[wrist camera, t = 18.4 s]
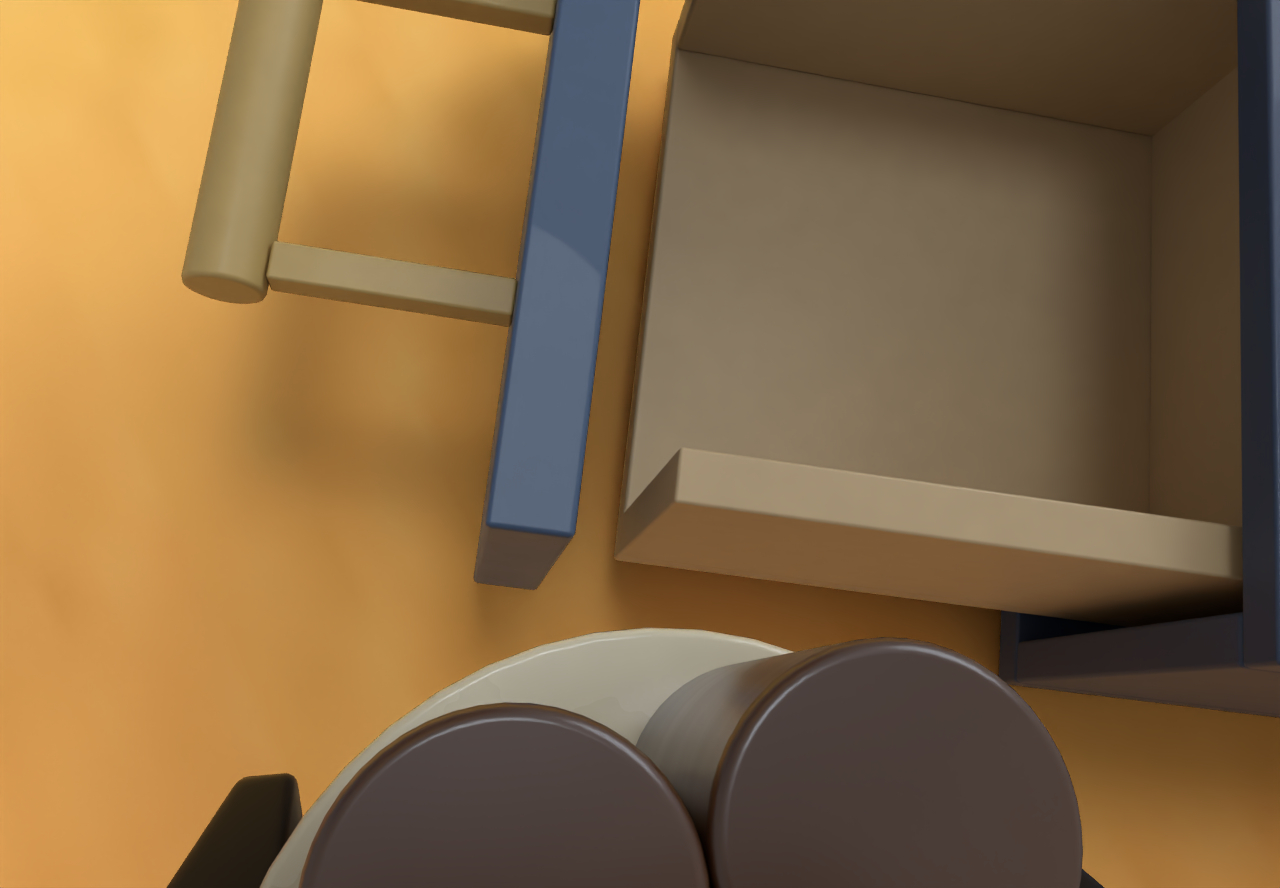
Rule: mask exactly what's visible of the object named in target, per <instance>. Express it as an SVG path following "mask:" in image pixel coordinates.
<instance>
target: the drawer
mask: <svg viewBox="0 0 1280 888" xmlns="http://www.w3.org/2000/svg"><path fill="white" fill-rule="evenodd" d="M357 1H363V2H368V3H374V4H379V5H384V6H390V7H395V8H401V9H406V10H412V11H417V12H423V13H428V14H433V15H439V16H444V17H450V18H455V19H461V20H466V21H472V22H477V23H482V24H488V25H493V26H499V27H504V28H510V29H515V30H521V31H526V32H532V33H537V34H542V35H550V38H549V45H548V53H547V60H546V67H545V74H544V81H543V88H542V95H541V102H540V109H539V117H538V124H537V131H536V138H535V145H534V152H533V159H532V166H531V173H530V181H529V188H528V195H527V202H526V209H525V216H524V223H523V230H522V237H521V244H520V252H519V259H518V266H517V273H516V279H515V278H508V277H502V276H496V275H489V274H483V273H477V272H470V271H464V270H458V269H451V268H445V267H439V266H432V265H426V264H420V263H413V262H407V261H401V260H394V259H388V258H381V257H375V256H369V255H362V254H356V253H350V252H343V251H337V250H331V249H324V248H318V247H312V246H305V245H299V244H293V243H286V242H280V241H277V238H278V233H279V228H280V222H281V217H282V212H283V207H284V202H285V196H286V191H287V186H288V181H289V175H290V170H291V165H292V160H293V155H294V149H295V144H296V139H297V134H298V129H299V123H300V118H301V113H302V108H303V103H304V97H305V92H306V87H307V82H308V76H309V71H310V66H311V61H312V56H313V50H314V45H315V40H316V35H317V30H318V24H319V19H320V14H321V9H322V3H323V0H239V4H238V9H237V14H236V18H235V23H234V28H233V33H232V37H231V42H230V47H229V52H228V56H227V61H226V66H225V71H224V75H223V80H222V85H221V90H220V94H219V99H218V104H217V109H216V113H215V118H214V123H213V128H212V132H211V137H210V142H209V147H208V151H207V156H206V161H205V166H204V170H203V175H202V180H201V185H200V190H199V194H198V199H197V204H196V209H195V213H194V218H193V223H192V228H191V232H190V237H189V242H188V247H187V251H186V256H185V261H184V266H183V270H182V275H181V276H182V281H183V283H184V285H185V286H186V287H188V288H189V289H191V290H192V291H194V292H196V293H198V294H201V295H203V296H206V297H209V298H212V299H215V300H219V301H224V302H229V303H239V304H249V303H257V302H260V301H262V300H263V299H264V298H265V296H266V295H267V290H268V285H270V287H271V289H272V290H273V291H278V292H285V293H291V294H298V295H304V296H311V297H317V298H324V299H331V300H337V301H344V302H350V303H357V304H363V305H370V306H376V307H383V308H390V309H396V310H403V311H409V312H416V313H422V314H429V315H435V316H442V317H449V318H455V319H462V320H468V321H475V322H481V323H488V324H494V325H501V326H509V330H508V337H507V344H506V351H505V358H504V365H503V372H502V380H501V387H500V394H499V401H498V408H497V415H496V422H495V429H494V436H493V443H492V451H491V458H490V465H489V472H488V479H487V486H486V493H485V500H484V507H483V515H482V522H481V529H480V536H479V543H478V550H477V557H476V564H475V571H474V581H475V582H477V583H482V584H490V585H498V586H506V587H514V588H522V589H530V590H535V589H537V588H538V586H539V585H540V583H541V582H542V581H543V579H544V578H545V576H546V575H547V573H548V572H549V571H550V569H551V568H552V566H553V565H554V563H555V562H556V561H557V559H558V558H559V556H560V555H561V553H562V552H563V551H564V549H565V548H566V546H567V545H568V543H569V542H570V541H571V539H572V538H573V536H574V534H575V530H576V522H577V514H578V506H579V498H580V489H581V481H582V473H583V465H584V457H585V448H586V440H587V432H588V424H589V416H590V407H591V399H592V391H593V383H594V375H595V366H596V358H597V350H598V342H599V334H600V325H601V317H602V309H603V301H604V293H605V284H606V276H607V268H608V260H609V252H610V243H611V235H612V227H613V219H614V210H615V202H616V194H617V186H618V178H619V169H620V161H621V153H622V145H623V137H624V128H625V120H626V112H627V104H628V96H629V87H630V79H631V71H632V63H633V55H634V46H635V38H636V30H637V22H638V14H639V5H640V0H357ZM614 558H615V559H616V560H618V561H625V562H632V563H640V564H648V565H656V566H663V567H671V568H679V569H686V570H694V571H702V572H709V573H717V574H725V575H733V576H740V577H748V578H756V579H763V580H771V581H779V582H787V583H794V584H802V585H810V586H817V587H825V588H833V589H841V590H848V591H856V592H864V593H871V594H879V595H887V596H895V597H902V598H910V599H918V600H925V601H933V602H941V603H948V604H956V605H964V606H972V607H979V608H987V609H995V610H1002V611H1010V612H1018V613H1026V614H1033V615H1041V616H1049V617H1056V618H1064V619H1072V620H1080V621H1087V622H1095V623H1103V624H1110V625H1118V626H1126V627H1135V626H1142V625H1150V624H1157V623H1164V622H1172V621H1179V620H1187V619H1194V618H1202V617H1209V616H1216V615H1224V614H1231V613H1239V612H1243V557H1242V454H1241V352H1240V249H1239V146H1238V44H1237V0H685V3H684V6H683V9H682V12H681V15H680V19H679V21H678V24H677V27H676V30H675V33H674V36H673V40H672V49H671V57H670V66H669V75H668V84H667V92H666V101H665V110H664V119H663V128H662V136H661V145H660V154H659V163H658V172H657V180H656V189H655V198H654V207H653V216H652V224H651V233H650V242H649V251H648V260H647V268H646V277H645V286H644V295H643V303H642V312H641V321H640V330H639V339H638V347H637V356H636V365H635V374H634V383H633V391H632V400H631V409H630V418H629V427H628V435H627V444H626V453H625V462H624V470H623V479H622V488H621V497H620V506H619V514H618V523H617V532H616V541H615V550H614Z"/></svg>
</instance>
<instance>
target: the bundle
mask: <svg viewBox="0 0 1280 888" xmlns="http://www.w3.org/2000/svg"><path fill="white" fill-rule="evenodd" d="M1082 856H1083V847H1082V828H1081V821H1080V815H1079V809H1078V803H1077V799H1076V795H1075V792H1074V788H1073V785H1072V782H1071V778H1070V775H1069V773H1068V770H1067V768H1066V766H1065V763H1064V761H1063V759H1062V756H1061V754H1060V752H1059V750H1058V748H1057V746H1056V745H1055V743H1054V741H1053V739H1052V738H1051V736H1050V734H1049V732H1048V731H1047V729H1046V728H1045V726H1044V725H1043V724H1042V722H1041V721H1040V720H1039V718H1038V717H1037V715H1036V714H1035V713H1034V711H1033V710H1032V709H1031V707H1030V706H1029V705H1028V704H1027V703H1026V702H1025V701H1024V700H1023V699H1022V698H1021V697H1020V696H1019V695H1018V693H1017V692H1016V691H1015V690H1014V689H1013V688H1012V687H1010V686H1009V685H1008V684H1007V683H1006V682H1004V681H1003V680H1002V679H1001V678H1000V677H998V676H997V675H996V674H995V673H993V672H992V671H990V670H989V669H987V668H985V667H984V666H982V665H981V664H979V663H978V662H976V661H975V660H973V659H971V658H969V657H966V656H964V655H962V654H960V653H958V652H956V651H954V650H952V649H948V648H945V647H942V646H939V645H936V644H933V643H930V642H924V641H919V640H913V639H907V638H888V637H879V638H869V639H860V640H854V641H849V642H844V643H838V644H833V645H828V646H823V647H818V648H813V649H808V650H803V651H798V652H794V651H790V650H787V649H784V648H781V647H778V646H775V645H771V644H768V643H765V642H762V641H759V640H755V639H752V638H746V637H740V636H734V635H729V634H723V633H717V632H711V631H706V630H696V629H669V628H639V629H629V630H618V631H608V632H598V633H591V634H587V635H583V636H578V637H574V638H570V639H565V640H561V641H557V642H553V643H548V644H544V645H540V646H537V647H535V648H532V649H529V650H527V651H524V652H521V653H519V654H516V655H513V656H511V657H508V658H506V659H503V660H500V661H498V662H495V663H492V664H490V665H487V666H485V667H483V668H482V669H480V670H478V671H476V672H474V673H472V674H470V675H468V676H467V677H465V678H463V679H461V680H459V681H457V682H455V683H453V684H452V685H450V686H448V687H446V688H444V689H442V690H440V691H439V692H437V693H435V694H434V695H433V696H431V697H430V698H428V699H427V700H426V701H424V702H423V703H421V704H420V705H418V706H417V707H416V708H414V709H413V710H411V711H410V712H409V713H407V714H406V715H404V716H403V717H402V718H400V719H399V720H397V721H396V722H395V723H393V724H392V725H390V726H389V727H388V728H387V729H386V730H385V731H384V732H382V733H381V734H380V735H379V736H378V737H377V738H376V739H375V740H374V741H373V742H372V743H370V744H369V745H368V746H367V747H366V748H365V749H364V750H363V751H362V752H361V753H360V754H359V755H357V756H356V757H355V758H354V759H353V760H352V761H351V762H350V763H349V764H348V765H347V766H345V767H344V769H343V770H342V771H341V772H340V773H339V774H338V776H337V777H336V778H335V779H334V780H333V782H332V783H331V784H330V785H329V786H328V787H327V789H326V790H325V791H324V792H323V793H322V794H321V796H320V797H319V798H318V799H317V800H316V802H315V803H314V804H313V805H312V806H311V807H310V809H309V810H308V811H307V812H306V813H305V815H304V816H303V817H302V819H301V821H300V822H299V824H298V825H297V827H296V828H295V830H294V831H293V833H292V834H291V836H290V837H289V839H288V840H287V842H286V843H285V845H284V846H283V848H282V849H281V851H280V852H279V854H278V855H277V857H276V859H275V860H274V862H273V863H272V865H271V866H270V868H269V870H268V872H267V874H266V876H265V878H264V880H263V882H262V884H261V886H260V888H1079V886H1080V881H1081V872H1082Z"/></svg>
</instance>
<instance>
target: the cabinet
mask: <svg viewBox="0 0 1280 888" xmlns="http://www.w3.org/2000/svg"><path fill="white" fill-rule="evenodd" d="M1237 44H1238V146H1239V249H1240V352H1241V454H1242V557H1243V612H1239V613H1231V614H1224V615H1216V616H1209V617H1202V618H1194V619H1187V620H1179V621H1172V622H1164V623H1157V624H1150V625H1142V626H1135V627H1126V626H1118V625H1110V624H1103V623H1095V622H1087V621H1080V620H1072V619H1064V618H1056V617H1049V616H1041V615H1033V614H1026V613H1018V612H1010V611H1002V610H1001V632H1000V659H999V677H1000V678H1001V679H1002V680H1003V681H1004V682H1006V683H1007V684H1008V685H1015V686H1023V687H1032V688H1040V689H1048V690H1056V691H1064V692H1073V693H1081V694H1089V695H1097V696H1106V697H1114V698H1122V699H1130V700H1138V701H1147V702H1155V703H1163V704H1171V705H1179V706H1188V707H1196V708H1204V709H1212V710H1221V711H1229V712H1237V713H1245V714H1253V715H1262V716H1270V717H1278V718H1280V0H1237Z"/></svg>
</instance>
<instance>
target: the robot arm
mask: <svg viewBox="0 0 1280 888" xmlns="http://www.w3.org/2000/svg"><path fill="white" fill-rule="evenodd" d="M301 819H302V810H301V803H300V796H299V789H298V783H297V780H296V779H295V777H294V776H292V775H290V774H287V773H283V774H272V775H261V776H250V777H245V778H243V779H241V780H240V781H238V782H237V783H236V784H235V786H234V787H233V788H232V790H231V791H230V793H229V794H228V796H227V797H226V799H225V800H224V802H223V803H222V805H221V806H220V808H219V809H218V811H217V812H216V814H215V815H214V817H213V818H212V820H211V821H210V823H209V824H208V826H207V827H206V829H205V830H204V832H203V833H202V835H201V836H200V838H199V839H198V841H197V842H196V844H195V845H194V847H193V848H192V850H191V852H190V853H189V855H188V856H187V858H186V859H185V861H184V862H183V864H182V865H181V867H180V868H179V870H178V871H177V873H176V874H175V876H174V877H173V879H172V880H171V882H170V883H169V885H168V886H167V888H260V886H261V884H262V882H263V880H264V878H265V876H266V874H267V872H268V870H269V868H270V866H271V865H272V863H273V862H274V860H275V859H276V857H277V855H278V854H279V852H280V851H281V849H282V848H283V846H284V845H285V843H286V842H287V840H288V839H289V837H290V836H291V834H292V833H293V831H294V830H295V828H296V827H297V825H298V824H299V822H300V821H301ZM1079 888H1104V887H1103V886H1102V885H1101V884H1099V883H1098V882H1097V881H1096V880H1095V879H1094V878H1092V877H1091V876H1090V875H1089V874H1088V873H1086V872H1085V871H1084V870H1083V869H1082V872H1081V881H1080V886H1079Z"/></svg>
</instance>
